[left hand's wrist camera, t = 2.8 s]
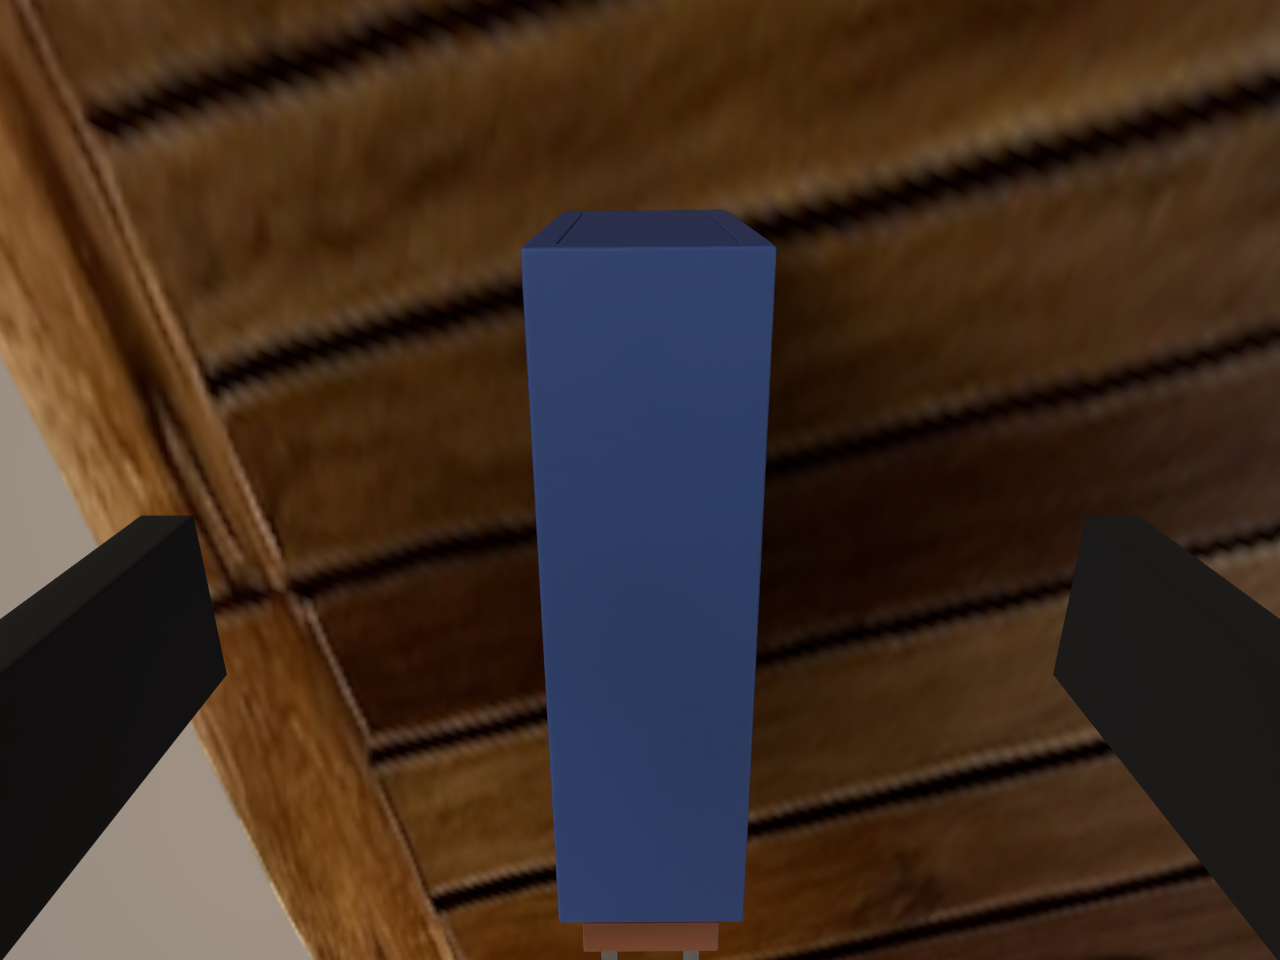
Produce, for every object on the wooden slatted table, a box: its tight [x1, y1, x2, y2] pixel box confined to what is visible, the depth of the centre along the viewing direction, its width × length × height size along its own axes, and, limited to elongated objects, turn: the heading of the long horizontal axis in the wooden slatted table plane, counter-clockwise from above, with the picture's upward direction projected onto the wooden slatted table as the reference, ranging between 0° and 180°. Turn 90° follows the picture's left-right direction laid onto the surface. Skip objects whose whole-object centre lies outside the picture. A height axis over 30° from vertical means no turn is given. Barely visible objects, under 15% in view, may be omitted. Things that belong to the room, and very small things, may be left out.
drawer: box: [583, 921, 719, 960], centre depth 28 cm, size 24×4×9 cm, turn 0°
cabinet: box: [521, 210, 777, 922], centre depth 26 cm, size 19×5×11 cm, turn 0°
